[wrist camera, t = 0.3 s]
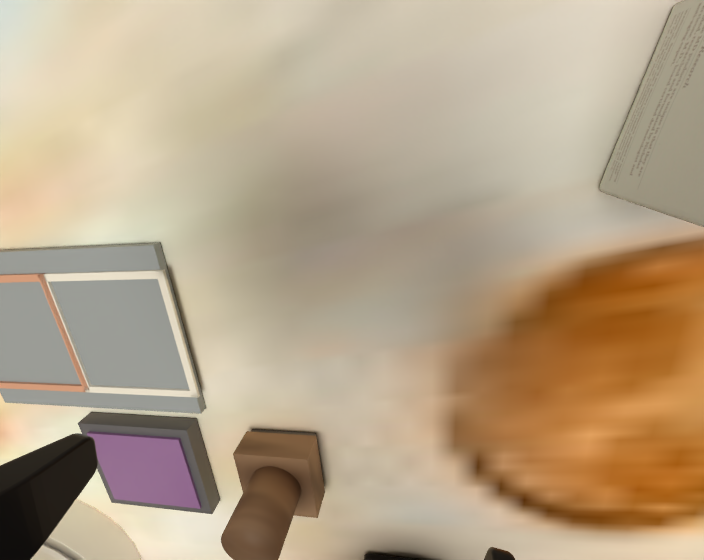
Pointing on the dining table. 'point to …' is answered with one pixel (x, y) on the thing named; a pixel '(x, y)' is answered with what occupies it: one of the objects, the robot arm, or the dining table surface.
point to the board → (94, 330)
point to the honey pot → (87, 538)
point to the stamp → (272, 491)
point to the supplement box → (666, 125)
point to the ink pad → (152, 461)
